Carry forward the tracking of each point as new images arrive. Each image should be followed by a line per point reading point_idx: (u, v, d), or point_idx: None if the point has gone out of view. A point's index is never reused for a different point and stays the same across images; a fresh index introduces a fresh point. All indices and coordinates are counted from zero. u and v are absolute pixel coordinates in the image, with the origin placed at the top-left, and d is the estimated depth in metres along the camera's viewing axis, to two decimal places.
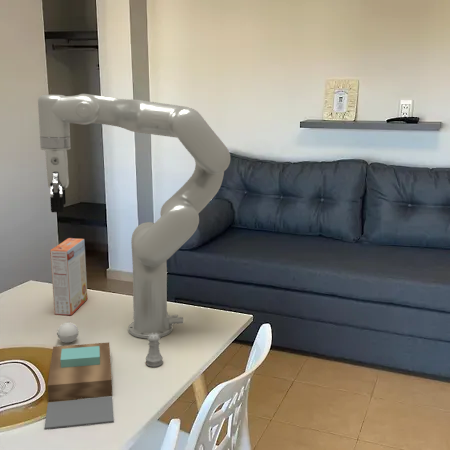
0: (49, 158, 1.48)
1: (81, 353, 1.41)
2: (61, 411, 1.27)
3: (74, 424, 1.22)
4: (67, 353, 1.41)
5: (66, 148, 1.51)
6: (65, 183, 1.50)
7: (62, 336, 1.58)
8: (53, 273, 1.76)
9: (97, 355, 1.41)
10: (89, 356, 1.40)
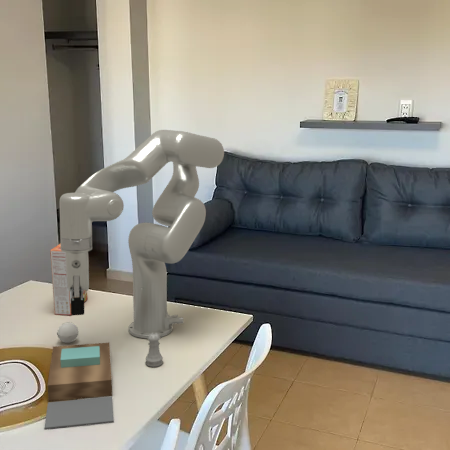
0: (70, 261, 1.40)
1: (81, 353, 1.41)
2: (61, 411, 1.27)
3: (74, 424, 1.22)
4: (67, 353, 1.41)
5: (88, 249, 1.43)
6: (86, 287, 1.42)
7: (62, 336, 1.58)
8: (53, 273, 1.76)
9: (97, 355, 1.41)
10: (89, 356, 1.40)
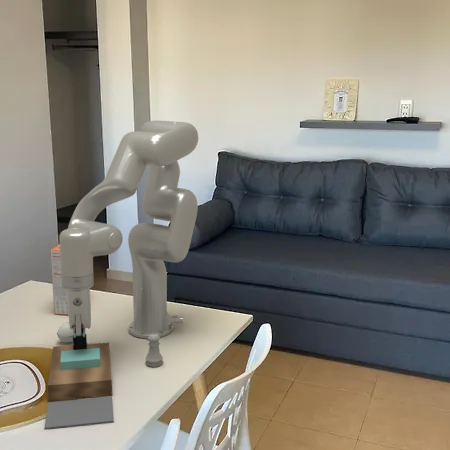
0: (71, 299, 1.37)
1: (81, 355, 1.40)
2: (61, 411, 1.27)
3: (74, 424, 1.22)
4: (67, 355, 1.40)
5: (89, 286, 1.39)
6: (88, 324, 1.39)
7: (62, 336, 1.58)
8: (53, 273, 1.76)
9: (97, 357, 1.40)
10: (89, 358, 1.39)
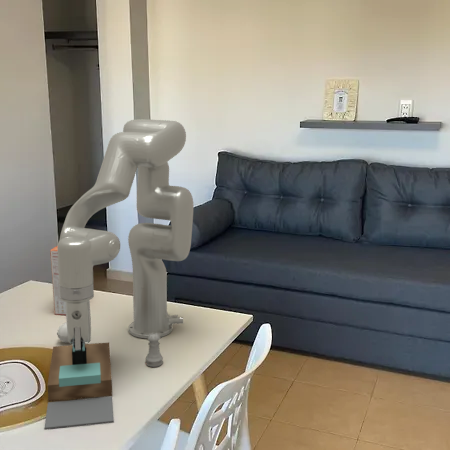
0: (70, 312, 1.30)
1: (81, 371, 1.33)
2: (61, 411, 1.27)
3: (74, 424, 1.22)
4: (66, 371, 1.33)
5: (89, 298, 1.32)
6: (88, 338, 1.31)
7: (62, 336, 1.58)
8: (53, 273, 1.76)
9: (98, 372, 1.32)
10: (89, 374, 1.31)
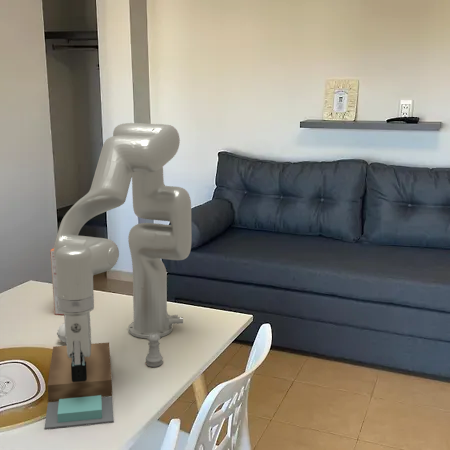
0: (69, 325, 1.23)
1: None
2: None
3: (74, 424, 1.22)
4: None
5: (89, 310, 1.25)
6: (88, 352, 1.25)
7: (62, 336, 1.58)
8: (53, 273, 1.76)
9: None
10: None
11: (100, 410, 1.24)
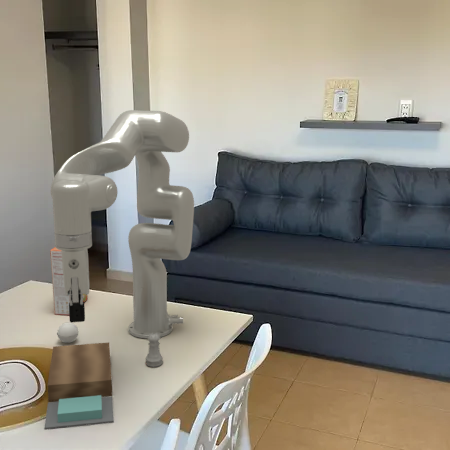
0: (66, 261, 1.20)
1: None
2: None
3: (74, 424, 1.22)
4: None
5: (87, 246, 1.22)
6: (86, 290, 1.22)
7: (62, 336, 1.58)
8: (53, 273, 1.76)
9: None
10: None
11: (100, 410, 1.24)
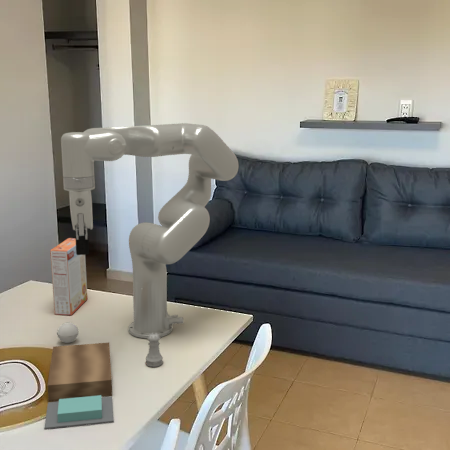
0: (74, 199, 1.42)
1: None
2: None
3: (74, 424, 1.22)
4: None
5: (91, 188, 1.44)
6: (90, 225, 1.44)
7: (62, 336, 1.58)
8: (53, 273, 1.76)
9: None
10: None
11: (100, 410, 1.24)
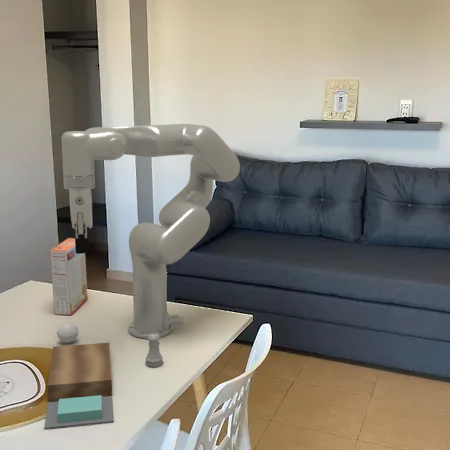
0: (73, 198, 1.42)
1: None
2: None
3: (74, 424, 1.22)
4: None
5: (91, 187, 1.44)
6: (90, 223, 1.44)
7: (62, 336, 1.58)
8: (53, 273, 1.76)
9: None
10: None
11: (100, 410, 1.24)
